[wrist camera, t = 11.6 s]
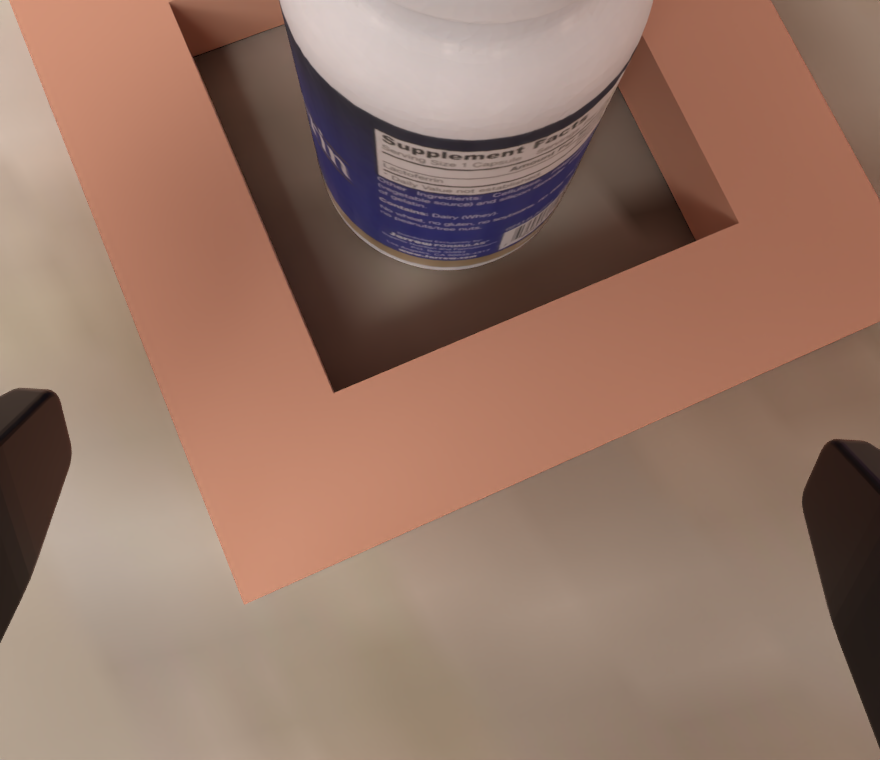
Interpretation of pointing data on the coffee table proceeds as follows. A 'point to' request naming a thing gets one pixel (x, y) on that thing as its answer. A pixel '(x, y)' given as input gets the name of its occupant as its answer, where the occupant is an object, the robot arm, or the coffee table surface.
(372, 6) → the pill bottle
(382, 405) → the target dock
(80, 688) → the coffee table surface
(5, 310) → the coffee table surface
